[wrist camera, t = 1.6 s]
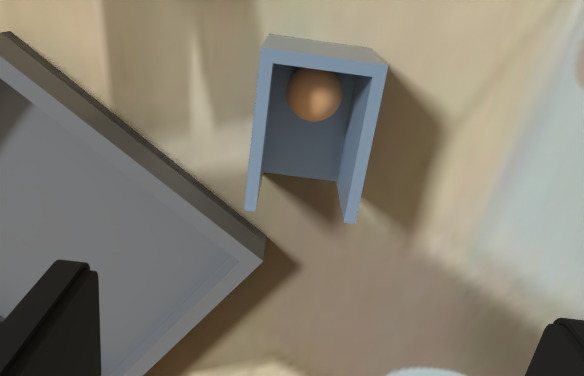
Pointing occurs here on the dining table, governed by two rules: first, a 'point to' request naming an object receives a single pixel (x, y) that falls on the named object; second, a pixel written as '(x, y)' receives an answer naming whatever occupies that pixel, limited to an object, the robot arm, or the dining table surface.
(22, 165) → the tray
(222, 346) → the dining table surface
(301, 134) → the blue open box
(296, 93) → the ball
